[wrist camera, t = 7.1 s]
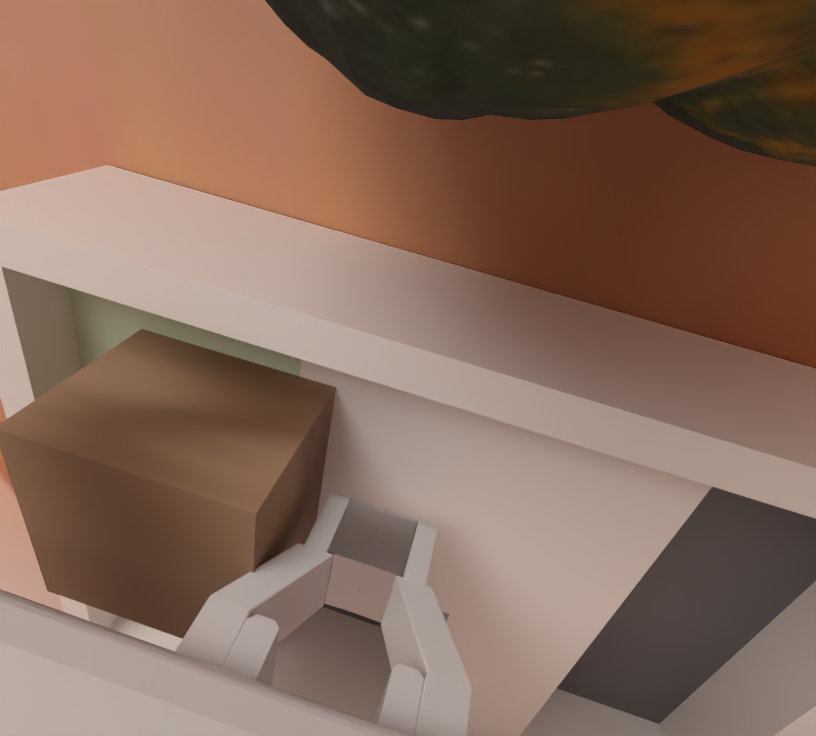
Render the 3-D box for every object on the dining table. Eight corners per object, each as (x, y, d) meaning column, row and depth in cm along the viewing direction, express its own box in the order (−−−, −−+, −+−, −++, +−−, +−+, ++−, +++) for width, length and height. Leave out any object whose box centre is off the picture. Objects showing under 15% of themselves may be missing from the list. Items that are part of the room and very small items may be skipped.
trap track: (1091, 447, 12) (1348, 629, 8) (706, 747, 21) (741, 896, 17) (108, 165, 14) (-57, 205, 10) (151, 553, 23) (75, 650, 19)
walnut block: (336, 387, 12) (255, 514, 9) (315, 525, 15) (248, 662, 11) (141, 328, 12) (-6, 427, 9) (157, 473, 15) (47, 591, 12)
